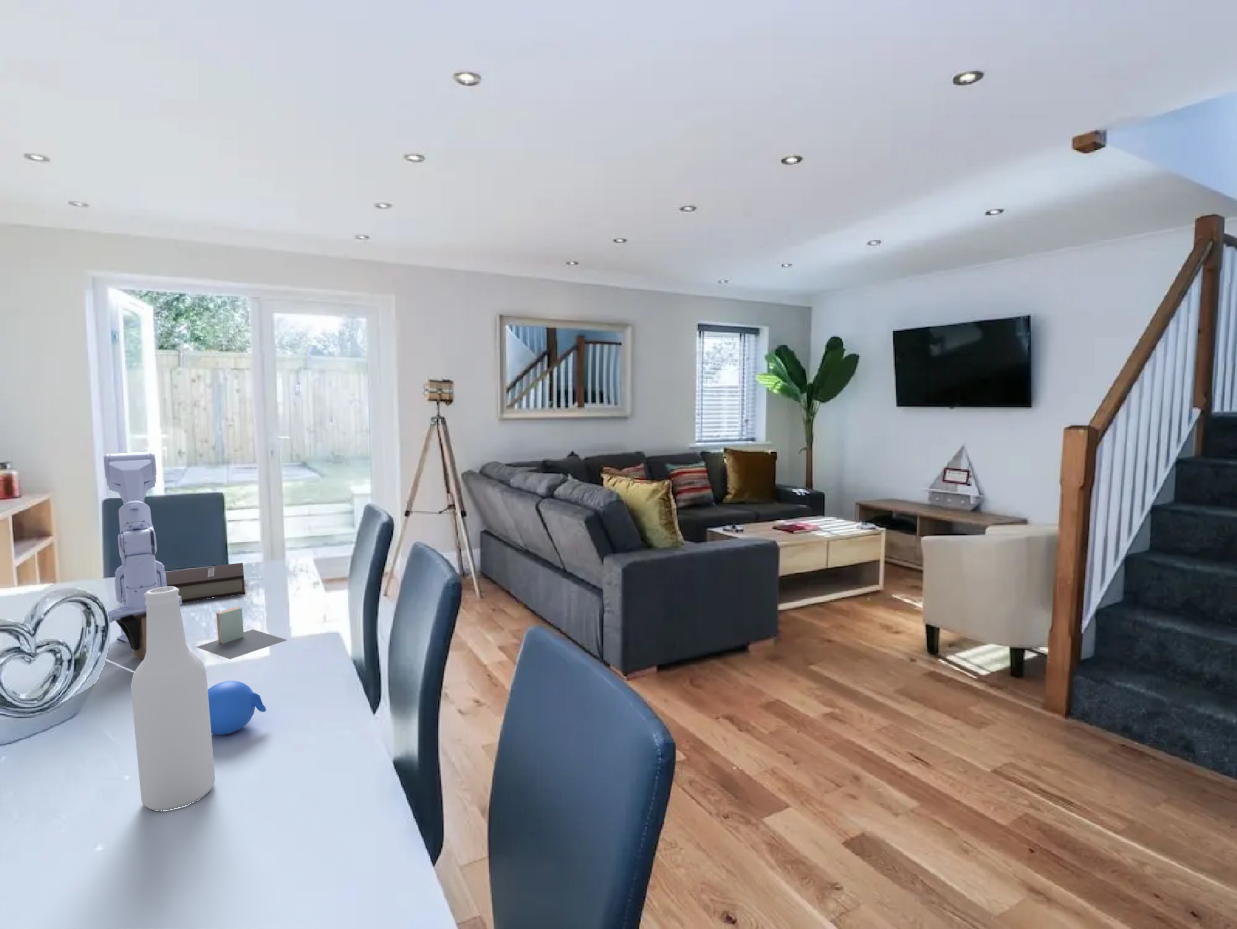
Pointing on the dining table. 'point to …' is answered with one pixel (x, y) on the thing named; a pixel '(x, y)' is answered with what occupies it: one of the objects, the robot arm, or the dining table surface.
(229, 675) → the dining table surface
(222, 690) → the blue rounded blob
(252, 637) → the mat
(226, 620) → the tile
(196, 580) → the book
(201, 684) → the alcohol
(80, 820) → the dining table surface
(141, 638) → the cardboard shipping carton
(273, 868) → the dining table surface
